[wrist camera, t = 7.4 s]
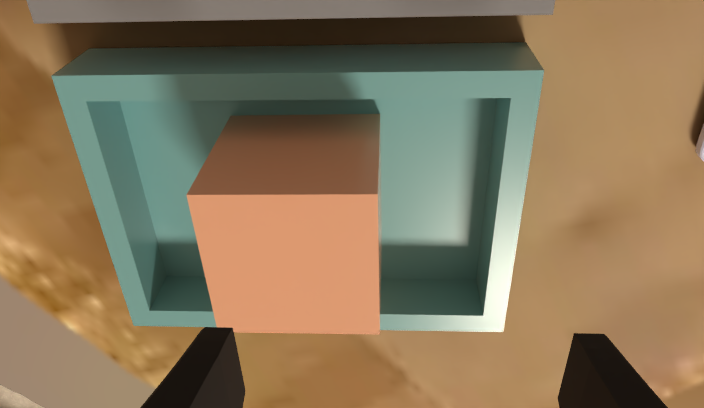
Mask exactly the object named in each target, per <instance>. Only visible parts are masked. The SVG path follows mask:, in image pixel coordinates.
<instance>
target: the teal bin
mask: <svg viewBox="0 0 704 408" xmlns="http://www.w3.org/2000/svg"><path fill="white" fill-rule="evenodd" d="M543 74H544V69H543V68H542V66H541V65H540V63H539V62H538V60H537V59H536V57H535V56H534V54H533V53H532V51H531V49H530V48H529V46H528V45H527V43H526V42H513V43H443V44H372V45H302V46H231V47H161V48H90V49H88V50H87V51H85V52H84V53H82V54H81V55H80V56H78V57H77V58H75V59H74V60H73V61H71V62H70V63H69V64H67V65H66V66H64V67H63V68H62V69H60V70H59V71H57V72H56V73H55V74H53V75H52V79H53V82H54V85H55V88H56V91H57V94H58V97H59V100H60V103H61V106H62V109H63V112H64V116H65V119H66V122H67V125H68V128H69V131H70V134H71V137H72V140H73V143H74V146H75V149H76V152H77V155H78V158H79V161H80V164H81V167H82V170H83V173H84V176H85V179H86V182H87V185H88V188H89V191H90V194H91V197H92V200H93V204H94V207H95V210H96V213H97V216H98V219H99V222H100V225H101V228H102V231H103V234H104V237H105V240H106V243H107V246H108V249H109V252H110V255H111V258H112V261H113V264H114V267H115V270H116V273H117V276H118V279H119V282H120V285H121V289H122V292H123V295H124V298H125V301H126V304H127V307H128V310H129V313H130V316H131V319H132V322H133V325H134V326H180V327H217V326H216V322H215V317H214V313H213V309H212V304H211V300H210V296H209V291H208V287H207V283H206V278H205V274H204V270H203V265H202V261H201V256H200V252H199V248H198V243H197V239H196V235H195V230H194V226H193V222H192V217H191V213H190V209H189V204H188V200H187V193H188V191H189V189H190V188H191V186H192V184H193V182H194V180H195V179H196V177H197V175H198V173H199V171H200V170H201V168H202V166H203V164H204V162H205V161H206V159H207V157H208V155H209V154H210V152H211V150H212V148H213V146H214V145H215V143H216V141H217V139H218V137H219V136H220V134H221V132H222V130H223V129H224V127H225V125H226V123H227V121H228V120H229V118H230V116H240V115H322V114H380V130H381V217H382V249H381V303H380V330H414V331H473V332H503V330H504V324H505V317H506V311H507V305H508V298H509V292H510V285H511V279H512V273H513V266H514V260H515V253H516V247H517V241H518V234H519V228H520V221H521V215H522V209H523V202H524V196H525V189H526V183H527V177H528V170H529V164H530V157H531V151H532V145H533V138H534V132H535V125H536V119H537V113H538V106H539V100H540V93H541V87H542V81H543Z"/></svg>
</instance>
